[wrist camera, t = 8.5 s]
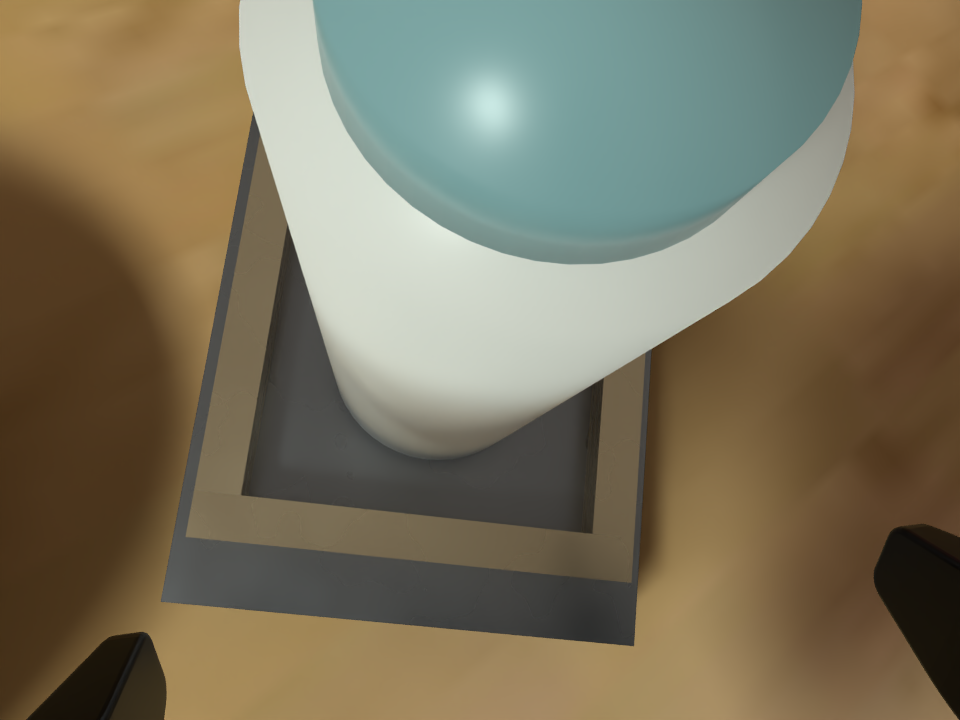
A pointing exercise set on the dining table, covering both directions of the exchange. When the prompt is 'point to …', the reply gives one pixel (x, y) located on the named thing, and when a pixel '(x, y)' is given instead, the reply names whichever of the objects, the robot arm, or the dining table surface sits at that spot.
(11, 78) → the dining table surface
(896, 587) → the robot arm
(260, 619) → the dining table surface
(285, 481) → the grey rectangular tray
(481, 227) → the white canister
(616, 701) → the dining table surface
